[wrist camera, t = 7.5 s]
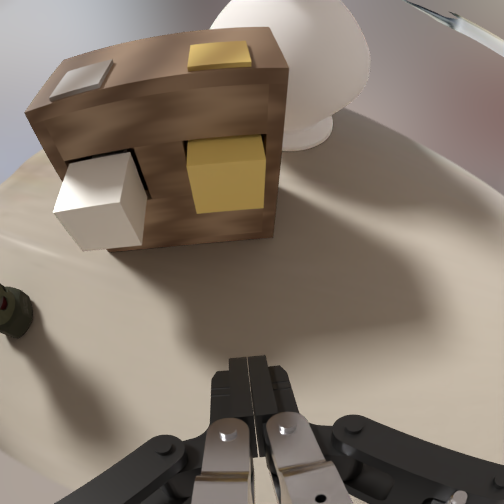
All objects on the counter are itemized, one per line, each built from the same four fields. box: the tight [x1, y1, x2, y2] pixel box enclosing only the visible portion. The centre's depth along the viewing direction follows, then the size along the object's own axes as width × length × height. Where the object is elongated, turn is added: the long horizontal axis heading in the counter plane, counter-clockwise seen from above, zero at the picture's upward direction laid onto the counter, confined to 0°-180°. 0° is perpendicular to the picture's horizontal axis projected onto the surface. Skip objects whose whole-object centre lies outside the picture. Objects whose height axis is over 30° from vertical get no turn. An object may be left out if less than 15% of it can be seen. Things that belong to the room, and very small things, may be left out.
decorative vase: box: [210, 0, 371, 151], centre depth 26 cm, size 18×18×25 cm
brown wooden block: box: [25, 27, 289, 252], centre depth 22 cm, size 15×7×16 cm, turn 96°
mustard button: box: [186, 134, 266, 214], centre depth 20 cm, size 4×6×4 cm
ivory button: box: [53, 149, 147, 251], centre depth 19 cm, size 4×6×4 cm
